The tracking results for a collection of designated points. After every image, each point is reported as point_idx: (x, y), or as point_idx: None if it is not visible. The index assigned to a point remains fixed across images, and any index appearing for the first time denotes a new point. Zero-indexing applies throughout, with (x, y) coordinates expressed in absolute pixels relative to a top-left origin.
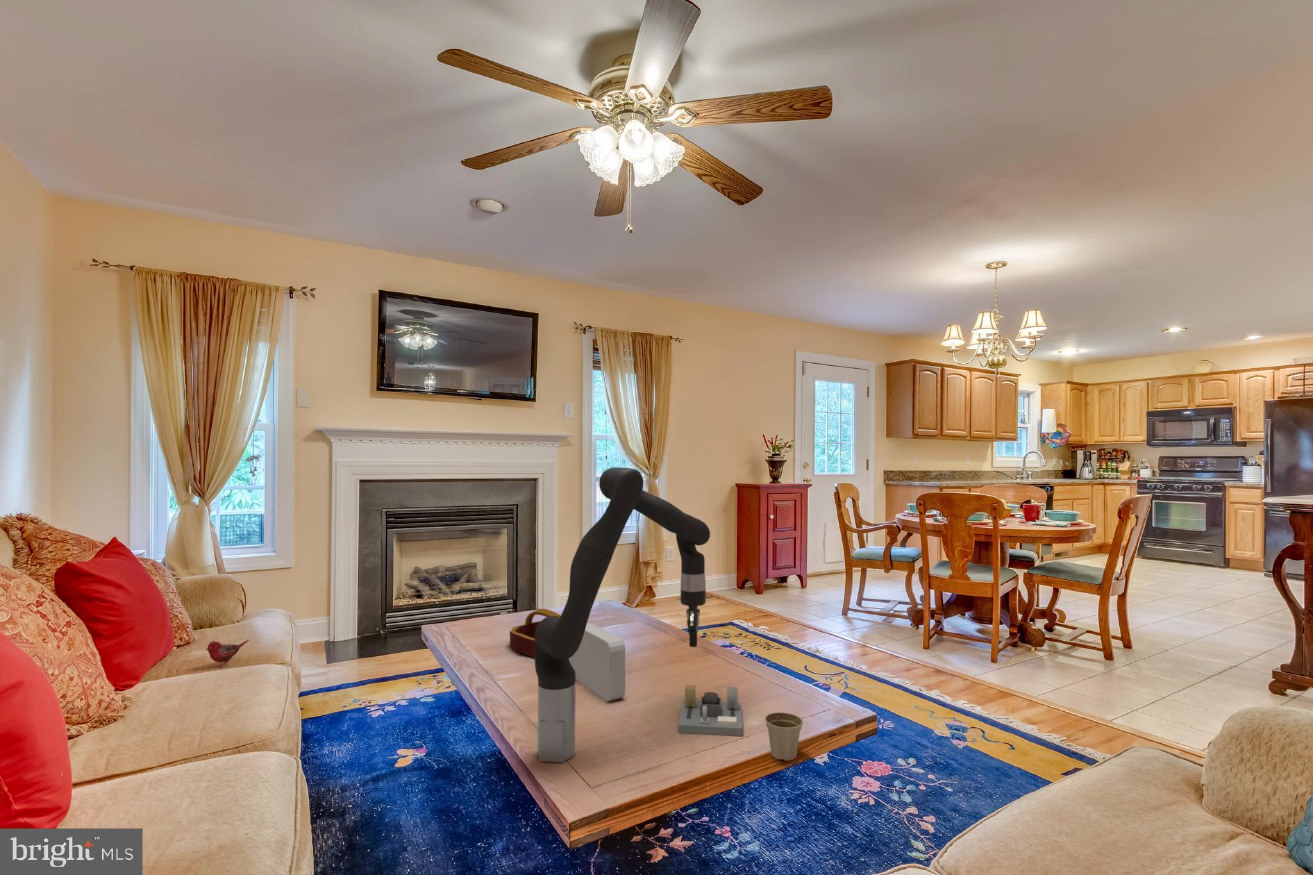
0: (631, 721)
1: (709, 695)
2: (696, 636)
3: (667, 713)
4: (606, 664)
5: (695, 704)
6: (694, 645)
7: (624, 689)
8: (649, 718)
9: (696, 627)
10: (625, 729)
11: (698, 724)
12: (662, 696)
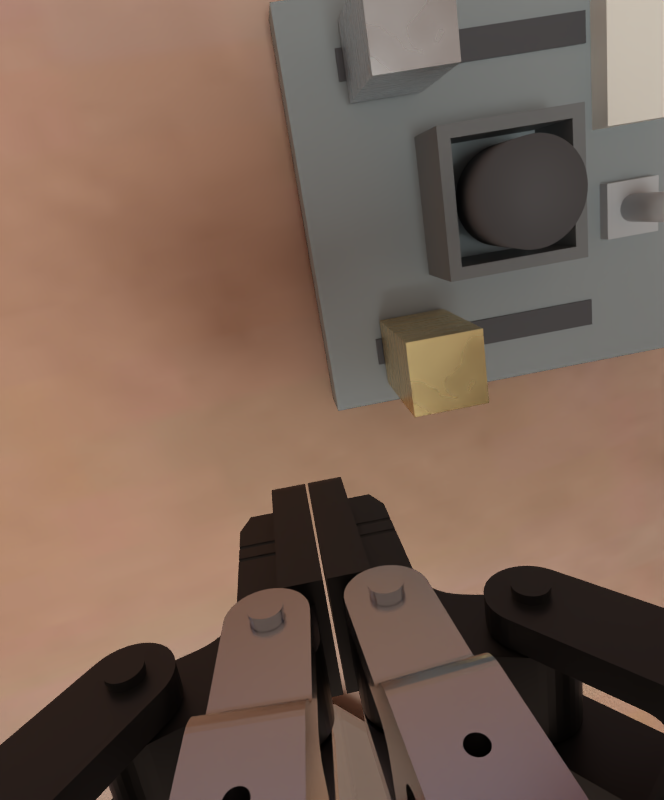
0: (561, 572)
1: (548, 202)
2: (364, 553)
3: (440, 450)
4: None
5: (443, 311)
6: (370, 505)
7: (346, 729)
8: (515, 512)
9: (653, 662)
10: (641, 566)
11: (655, 238)
12: (227, 541)
